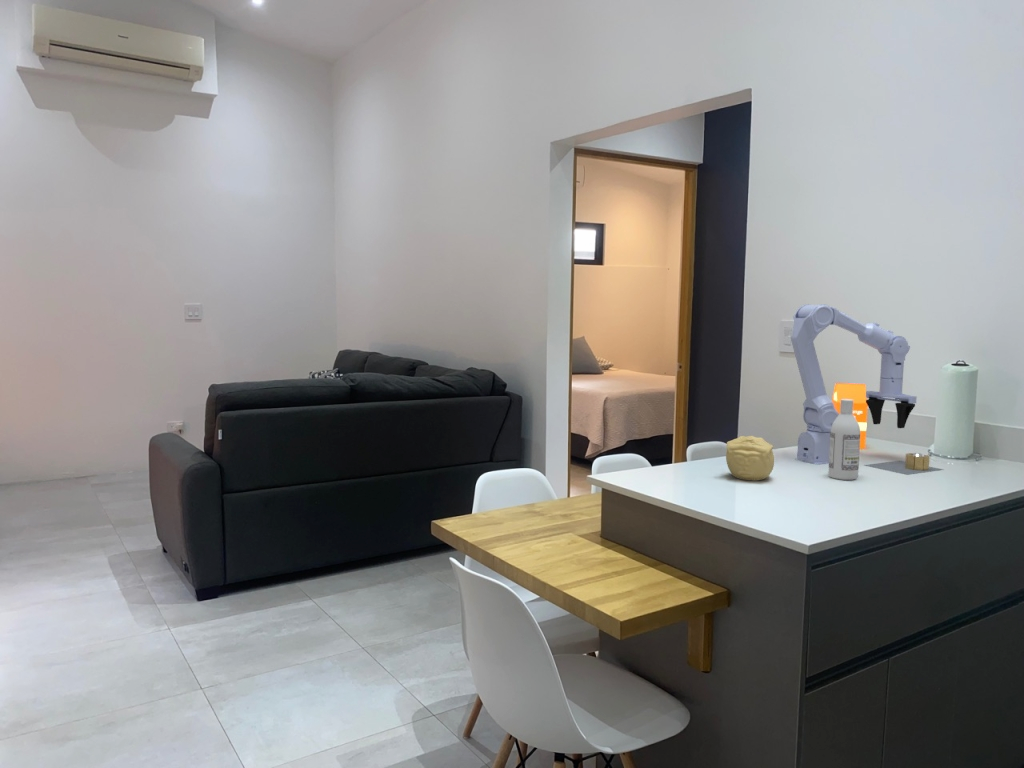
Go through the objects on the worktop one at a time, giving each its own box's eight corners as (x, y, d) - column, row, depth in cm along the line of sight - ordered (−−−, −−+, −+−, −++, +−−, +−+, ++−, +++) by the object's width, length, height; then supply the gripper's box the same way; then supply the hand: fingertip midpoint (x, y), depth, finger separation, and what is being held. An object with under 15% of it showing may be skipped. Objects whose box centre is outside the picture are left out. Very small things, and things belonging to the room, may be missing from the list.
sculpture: (721, 479, 187) (722, 437, 186) (731, 470, 198) (732, 430, 196) (769, 485, 182) (771, 441, 181) (776, 475, 192) (778, 434, 191)
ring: (919, 471, 197) (920, 457, 197) (901, 467, 202) (901, 454, 201) (932, 469, 199) (933, 456, 199) (913, 465, 204) (914, 452, 204)
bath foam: (863, 478, 190) (867, 399, 188) (849, 481, 186) (854, 402, 184) (836, 473, 195) (840, 397, 193) (823, 477, 191) (827, 399, 189)
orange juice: (865, 450, 228) (869, 385, 226) (834, 449, 230) (837, 384, 228) (858, 445, 236) (862, 382, 234) (829, 444, 238) (832, 381, 236)
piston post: (917, 469, 199) (918, 454, 199) (910, 468, 201) (911, 453, 201) (923, 468, 200) (924, 454, 200) (915, 467, 202) (916, 452, 202)
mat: (907, 476, 193) (907, 474, 193) (863, 466, 204) (863, 465, 204) (944, 471, 199) (944, 469, 199) (899, 461, 211) (899, 460, 211)
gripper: (924, 379, 206) (921, 428, 207) (878, 375, 219) (875, 421, 220) (908, 380, 203) (905, 430, 204) (861, 376, 216) (859, 423, 217)
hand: (888, 426), depth 212 cm, fingers open, 7 cm apart
